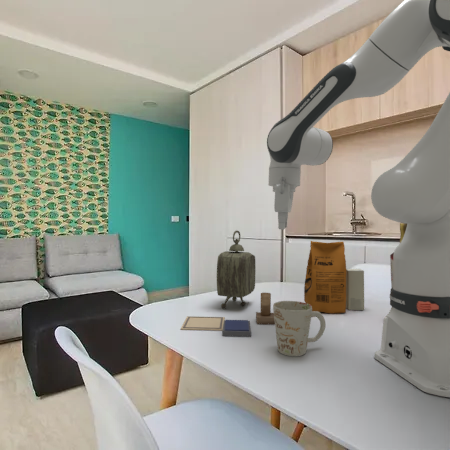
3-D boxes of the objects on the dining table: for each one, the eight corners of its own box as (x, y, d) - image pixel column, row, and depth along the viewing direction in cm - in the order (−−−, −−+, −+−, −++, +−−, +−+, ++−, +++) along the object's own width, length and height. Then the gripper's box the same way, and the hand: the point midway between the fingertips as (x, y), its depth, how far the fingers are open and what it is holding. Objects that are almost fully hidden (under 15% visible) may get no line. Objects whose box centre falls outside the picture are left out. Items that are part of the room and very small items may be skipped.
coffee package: (302, 305, 113) (303, 240, 112) (340, 306, 111) (341, 240, 111) (306, 313, 103) (307, 241, 102) (348, 314, 101) (349, 242, 101)
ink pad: (251, 336, 81) (251, 330, 81) (222, 336, 82) (222, 330, 82) (249, 325, 90) (249, 319, 90) (223, 324, 91) (224, 319, 91)
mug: (265, 346, 75) (266, 302, 75) (312, 340, 80) (313, 298, 80) (285, 361, 67) (285, 312, 67) (336, 353, 72) (336, 306, 72)
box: (360, 307, 111) (360, 268, 110) (364, 310, 106) (365, 270, 106) (343, 306, 111) (344, 268, 111) (347, 310, 107) (347, 270, 107)
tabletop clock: (231, 299, 119) (232, 229, 119) (255, 302, 116) (256, 230, 116) (216, 309, 106) (217, 230, 106) (243, 312, 103) (244, 231, 102)
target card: (223, 330, 86) (223, 329, 86) (180, 329, 86) (180, 328, 86) (224, 318, 97) (224, 316, 97) (187, 317, 97) (187, 316, 97)
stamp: (275, 324, 91) (275, 295, 91) (256, 324, 91) (257, 295, 91) (273, 319, 96) (273, 291, 96) (255, 319, 96) (256, 291, 96)
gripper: (295, 175, 84) (293, 230, 84) (296, 182, 103) (294, 227, 104) (269, 175, 85) (268, 229, 85) (275, 182, 105) (274, 226, 105)
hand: (282, 228), depth 95 cm, fingers open, 8 cm apart
